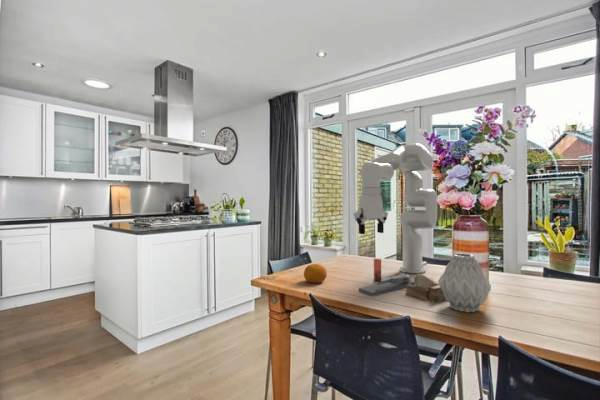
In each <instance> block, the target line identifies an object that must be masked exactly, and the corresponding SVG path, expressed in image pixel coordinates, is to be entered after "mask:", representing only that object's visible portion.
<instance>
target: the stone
mask: <svg viewBox="0 0 600 400" xmlns="http://www.w3.org/2000/svg"><path fill="white" fill-rule="evenodd" d="M413 282H415V285H414V286H417V287H421V288H425V289H429V290H430V287H434V286H437V285H436V284H435V283H434V282H435V281H434V280H432V279H431V278H429V277H427V276H426V275H424V274H423V273H416V275H415V276H414V277H413Z"/></svg>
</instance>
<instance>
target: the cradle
mask: <svg viewBox="0 0 600 400" xmlns="http://www.w3.org/2000/svg"><path fill="white" fill-rule="evenodd" d="M433 282H434V283H435V284H436V285H437V286H434V287H430V290H429V289H425V288H421V287H417V286H415V285H410V284H409V285H406V287H405V288H406V289H405V290H406V291H405V292H406V295H409V296H411V297H415V298H418V299H421V300H426V301H427V300H429V301H430V302H432V303H438V302H441V301H444V300H446V298H445V296H444V294H443V291H442V290H441V287H440V285H439V282H437V281H433Z"/></svg>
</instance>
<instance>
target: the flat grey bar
mask: <svg viewBox="0 0 600 400" xmlns="http://www.w3.org/2000/svg"><path fill="white" fill-rule="evenodd" d="M410 278H411V277H410ZM410 278H409V279H403V283H400V284H396V285H394V284H391V283H390V282H389V283H384V284H380V285H377V284H374V283H373V284H370V285H366V286H362V287H358V292H360V293H363V294H366V295H369V296H372V297H374V296H377V295H378V294H379V295H381V294H382V293H383V294H386V293H389V292H394V291H398V290H401V289H404V288H406V285H409V284H410V285H414V286H415V281H412V280H411V279H410ZM383 294H382V295H383Z"/></svg>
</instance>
